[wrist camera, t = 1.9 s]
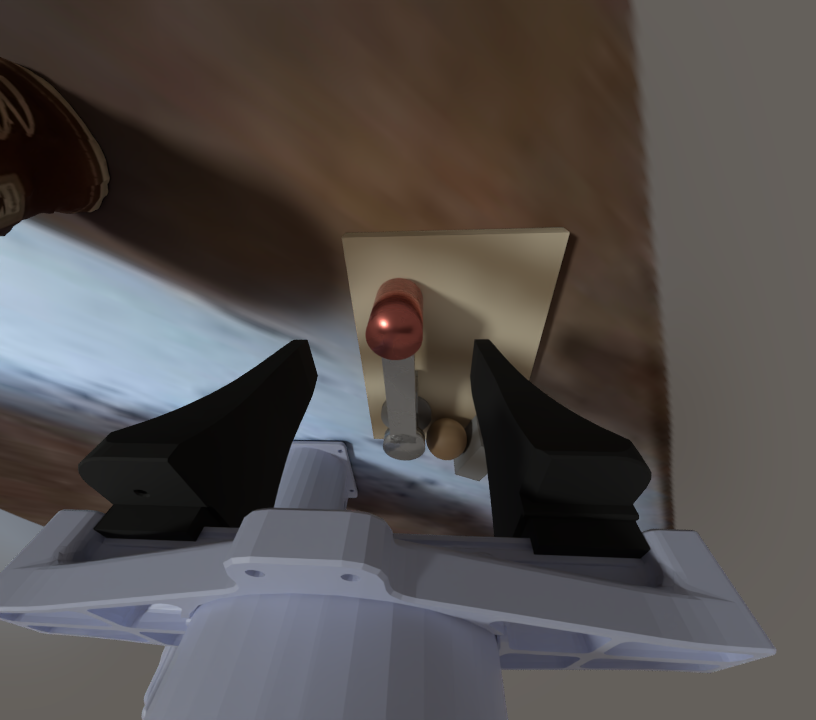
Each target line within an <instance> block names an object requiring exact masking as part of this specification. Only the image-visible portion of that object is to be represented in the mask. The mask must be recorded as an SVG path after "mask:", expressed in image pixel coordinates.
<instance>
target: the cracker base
mask: <svg viewBox="0 0 816 720" xmlns="http://www.w3.org/2000/svg"><path fill="white" fill-rule="evenodd" d="M569 234H570V232H569V231H567V230H566V229H564V228H563V227H562V228H521V229H481V230H441V231H400V232H360V233H345V234H344V235H343V237H342V243H343V249H344V256H345V262H346V268H347V274H348V280H349V287H350V293H351V299H352V305H353V311H354V318H355V324H356V330H357V336H358V343H359V349H360V355H361V361H362V367H363V374H364V380H365V386H366V392H367V398H368V405H369V411H370V417H371V423H372V429H373V436H374V439H384V435H385V431H386V430H387V428H389V421H388V412H387V402H386V393H385V384H384V375H383V366H382V357H380V356H378V355H377V354H376V353H374V352H373V351H372V350H371V349H370V347H369V346H368V344H367V341H366V337H365V332H366V328H367V324H368V321H369V318H370V314H371V311H372V308H373V304H374V301H375V298H376V294H377V291H378V289H379V288H380V286H381V285H382V284H383V283H384V282H386V281H388V280H390V279H393V278H405V279H408V280H410V281H412V282H414V283H415V284H416V285H417V286H418V287H419V289H420V290H421V292H422V295H423V341H422V344H421V347H420V348H419V350H418V351H417V352H416V353H415V371H418V413H416V421H417V426H418V427H419V428H421V429H422V430H423V432H424V434H425V439H426V443H427V446H428V448H429V450H430V452H431V453H432V454H433V455H434V456H436V457H437V458H439V459H442V460H452V459H454V467H455V474H456V475H459V476H463V477H466V478H470V479H473V480H477V481H480V480H481V479H482V478H483V477H484V476H485V475H486V474H487V473H488V472H487V464H486V457H485V449H484V444H483V439H482V435H481V431H480V427H479V423H478V419H477V415H476V411H475V406H474V402H473V398H472V391H471V381H470V372H471V364H472V355H473V347H474V339H489V340H490V341H491V342H492V343H493V344H494V345H495V346H496V348H497V349H498V350H499V351H500V352H501V353H502V354H503V356H504V357H505V358H506V359H507V360H508V361H509V362H510V363H511V364H512V365H513V366H514V367H515V368H516V369H517V370H518V371H519V372H520V373H521V374H522V375H523V376H524V377H525V378H526V379H527V380H529V379H530V376H531V372H532V368H533V365H534V361H535V357H536V354H537V350H538V346H539V343H540V339H541V336H542V332H543V328H544V325H545V321H546V317H547V314H548V310H549V307H550V303H551V299H552V296H553V292H554V288H555V285H556V281H557V277H558V274H559V270H560V267H561V263H562V259H563V256H564V252H565V248H566V245H567V241H568V237H569Z"/></svg>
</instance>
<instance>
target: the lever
mask: <svg viewBox="0 0 816 720" xmlns="http://www.w3.org/2000/svg"><path fill="white" fill-rule="evenodd" d="M365 337H366V341H367V344H368V346H369V347H370V349H371V350H372V351H373V352H374V353H376V354H377V355H378V356H380V357H382V366H383V375H384V384H385V393H386V402H387V412H388V421H389V428H387V430H386V431H385V435H384V442H383V449H384V451H385V453H386V454H387V455H389V456H390V457H392V458H395V459H398V460H413V459H416V458H418V457H420V456H421V455H422V454H423V453H424V451H425V434H424V432H423V430H422V429H421V428H419V427H418V426H417V421H416V413H418V371H415V353H416V352H417V351H418V350H419V348H420V347H421V344H422V341H423V295H422V292H421V290H420V289H419V287H418V286H417V285H416V284H415V283H414V282H412V281H410V280H408V279H405V278H393V279H390V280H388V281H386V282H384V283H383V284H382V285H381V286H380V288H379V289H378V291H377V294H376V298H375V301H374V304H373V308H372V311H371V314H370V318H369V321H368V324H367V328H366V332H365Z"/></svg>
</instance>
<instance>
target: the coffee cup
mask: <svg viewBox="0 0 816 720" xmlns="http://www.w3.org/2000/svg"><path fill="white" fill-rule="evenodd" d="M109 180H110V176H109V173H108V168H107V162H106V159H105V157H104V154H103V152H102V150H101V148H100V146H99V144H98V143H97V141H96V140H95V138H94V137H93V136H92V134H91V133H90V131H89V130H88V128H87V127H86V125H85V123H84V122H83V121H82V120H81V118H80V117H79V116H78V115H77V113H76V112H75V111H74V109H73V108H72V107H71V106H70V104H69V103H68V102H67V101H66V100H65V99H64V98H63V97H62V96H61V94H60V93H59V92H58V91H57V90H56V89H55V88H54V87H53V86H52V85H50V84H49V83H48V82H47V81H45V80H44V79H43V78H41V77H39V76H37V75H36V74H34V73H33V72H32V71H30V70H28V69H26V68H24V67H22V66H20V65H18V64H16V63H13V62H11V61H9V60H6V59H4V58H1V57H0V236H5V235H6V234H7V233H8V232H10V231H11V229H12V228H13V226H14V225H16V224H18V223H19V222H21V221H22V220H24V219H28V218H30V217H32V216H35V215H37V214H39V213H48V214H51V213H54V212H55V211H56V212H60V213H77V212H92V211H94V210H97V209H99V207H100V205H101V203H102V199H103V198H104V197H105V196H107V194H108V192H109V191H108V185H107V184H108V183H109Z"/></svg>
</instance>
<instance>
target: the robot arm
mask: <svg viewBox="0 0 816 720" xmlns="http://www.w3.org/2000/svg"><path fill="white" fill-rule="evenodd" d="M317 377H318V375H317V371H316V368H315V364H314V361H313V357H312V354H311V350H310V347H309V343H308V340H293V341H291V342H290V343H288V344H287V345H285V346H284V347H282V348H281V349H280V350H278V351H277V352H275V353H274V354H273V355H271V356H270V357H268V358H267V359H266V360H264V361H263V362H262V363H260V364H259V365H257V366H256V367H254V368H253V369H251V370H250V371H248V372H247V373H245V374H244V375H242V376H241V377H239V378H238V379H236V380H234V381H233V382H231V383H229V384H228V385H226V386H224V387H222V388H220V389H219V390H217V391H215V392H213V393H211V394H209V395H207V396H205V397H203V398H201V399H199V400H196V401H194V402H192V403H190V404H188V405H186V406H184V407H181V408H179V409H176V410H174V411H171V412H169V413H166V414H164V415H161V416H159V417H156V418H153V419H150V420H148V421H145V422H142V423H139V424H136V425H133V426H129V427H126V428H123V429H120V430H117V431H114V432H111V433H110V434H109V435H108V436H107V437H106V438H105V439H104V440H103V441H102V442H101V443H100V444H99V445H98V446H97V447H96V448H95V449H94V450H93V451H91V452H90V453H89V454H88V455H87V456H86V457H85V458H84V459H83V460H82V461H81V462H80V463H79V464H78V471H79V474H80V476H81V477H82V479H83V480H84V481H85V482H86V483H87V484H88V485H90V486H91V487H92V488H93V489H95V490H96V491H97V492H98V493H100V494H101V495H102V496H103V497H105V498H106V499H107V500H108V501H110V502H111V503H112V504H113V506H112V507H111V508H110V509H109V510H108V512H107V513H106V514H104V513H102V512H99V511H93V510H61V511H59V512H58V513H57V514H56V515H55V516H54V517H53V518H52V519H51V520H50V521H49V522H48V524H47V525H46V526H45V527H44V528H43V529H42V530H41V531H40V532H39V533H38V534H37V535H36V536H35V537H34V538H33V539H32V540H31V541H30V542H29V543H28V544H27V545H26V546H25V548H24V549H23V550H22V551H21V552H20V553H19V554H18V555H17V556H16V557H15V558H14V559H13V560H12V561H11V562H10V563H9V564H8V565H7V566H6V567H5V568H4V569H3V570H2V572H0V620H3V621H6V622H9V623H12V624H15V625H18V626H21V627H24V628H28V629H31V630H34V631H37V632H40V633H44V634H58V635H71V636H83V637H94V638H104V639H114V640H123V641H131V642H139V643H148V644H156V645H165V648H164V651H163V653H162V656H161V659H160V664H159V666H158V668H157V670H156V672H155V674H154V677H153V679H152V681H151V683H150V685H149V687H148V689H147V691H146V694H145V696H144V703H145V706H144V708H143V710H142V720H508V716H507V709H506V701H505V694H504V687H503V680H502V672H501V670H651V671H653V670H654V671H679V672H700V673H712V672H715V671H719V670H722V669H726V668H729V667H732V666H736V665H740V664H743V663H747V662H750V661H754V660H757V659H761V658H764V657H768V656H771V655H775V654H776V648H775V647H774V646H773V644H772V642H771V641H770V639H769V638H768V636H767V635H766V633H765V632H764V630H763V629H762V627H761V626H760V624H759V623H758V621H757V620H756V618H755V617H754V616H753V614H752V613H751V611H750V610H749V608H748V607H747V605H746V604H745V602H744V601H743V599H742V598H741V596H740V595H739V593H738V592H737V590H736V589H735V588H734V586H733V584H732V583H731V581H730V580H729V578H728V577H727V576H726V574H725V573H724V571H723V570H722V568H721V567H720V565H719V564H718V562H717V561H716V559H715V558H714V556H713V555H712V553H711V552H710V550H709V549H708V547H707V546H706V544H705V543H704V541H703V540H702V538H701V537H700V535H699V534H698V533H697V532H696V531H693V530H674V529H650V530H647V531H644V532H641V531H640V529H639V527H638V525H637V523H636V521H637V520H638V519H639V514H638V513H637V511H636V509H635V507H634V505H633V503H634V502H635V501H636V500H637V499H638V497H639V496H640V495H641V494H642V492H643V491H644V490H645V489H646V487H647V486H648V484H649V482H650V480H651V471H650V469H649V467H648V466H647V464H646V463H645V461H644V459H643V458H642V456H641V455H640V453H639V452H638V450H637V449H636V448H635V446H634V445H633V443H632V442H631V441H630V440H628V439H626V438H624V437H622V436H620V435H617V434H615V433H613V432H611V431H608V430H606V429H604V428H602V427H600V426H598V425H596V424H594V423H592V422H590V421H588V420H586V419H584V418H583V417H581V416H579V415H577V414H575V413H574V412H572V411H570V410H569V409H567V408H566V407H564V406H562V405H561V404H559V403H558V402H556V401H555V400H553V399H552V398H550V397H549V396H548V395H546V394H545V393H544V392H542V391H541V390H540V389H538V388H537V387H536V386H534V385H533V384H532V383H531V382H530V381H529V380H527V379H526V378H525V377H524V376H523V375H522V374H521V373H520V372H519V371H518V370H517V369H516V368H515V367H514V366H513V365H512V364H511V363H510V362H509V361H508V360H507V359H506V358H505V357H504V356H503V354H502V353H501V352H500V351H499V350H498V349H497V348H496V346H495V345H494V344H493V343H492V342H491V341H490V340H489V339H474V347H473V355H472V364H471V372H470V381H471V391H472V398H473V402H474V406H475V411H476V415H477V419H478V423H479V427H480V431H481V435H482V439H483V444H484V449H485V457H486V464H487V472H488V480H489V489H490V498H491V507H492V517H493V528H494V537H479V536H451V535H423V534H395V533H392V530H391V528H390V527H389V526H388V524H387V523H386V522H385V521H384V519H382V518H380V517H378V516H376V515H374V514H371V513H368V512H362V511H355V510H346V507H347V502H348V498H356V497H357V496H358V491H357V487H356V483H355V479H354V475H353V471H352V468H351V464H350V460H349V456H348V452H347V448H346V445H345V443H343V442H324V441H293V439H294V437H295V434H296V432H297V430H298V428H299V425H300V423H301V421H302V419H303V416H304V414H305V412H306V410H307V407H308V405H309V402H310V400H311V398H312V395H313V392H314V388H315V385H316V381H317Z"/></svg>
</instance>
